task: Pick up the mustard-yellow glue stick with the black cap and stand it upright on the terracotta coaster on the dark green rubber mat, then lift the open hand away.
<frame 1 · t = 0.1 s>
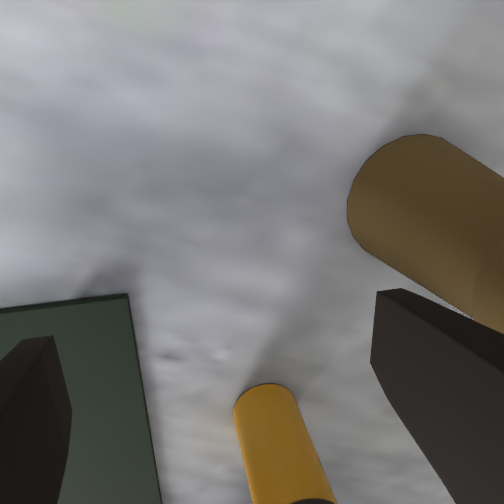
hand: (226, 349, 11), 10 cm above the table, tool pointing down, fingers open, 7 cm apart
cork: (406, 199, 22), on the table
glue stick: (264, 408, 25), on the table
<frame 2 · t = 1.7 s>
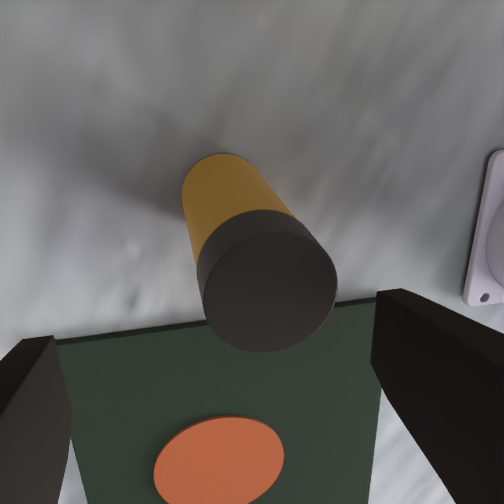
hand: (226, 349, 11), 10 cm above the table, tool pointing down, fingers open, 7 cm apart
mat: (236, 442, 25), on the table
glue stick: (222, 194, 19), on the table
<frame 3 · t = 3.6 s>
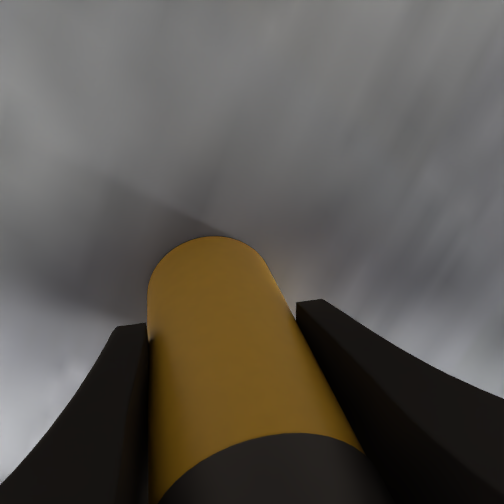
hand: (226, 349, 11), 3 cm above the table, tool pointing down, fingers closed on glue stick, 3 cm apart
glue stick: (211, 292, 13), on the table, touching gripper
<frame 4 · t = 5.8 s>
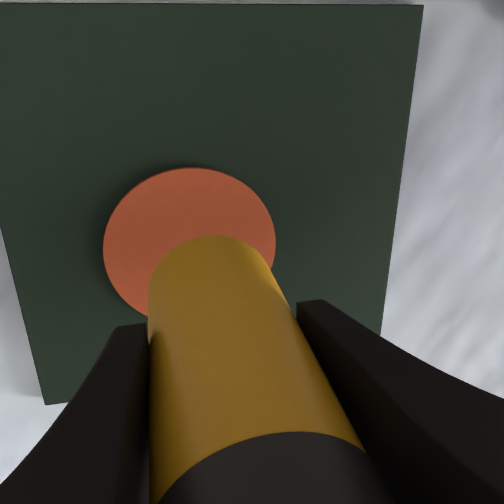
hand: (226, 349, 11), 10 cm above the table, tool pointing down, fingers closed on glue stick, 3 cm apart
mat: (214, 222, 19), on the table
glue stick: (211, 291, 13), point 7 cm above the table, touching gripper
when the fingers open (3 cm above the table, at t = 8.1 s): glue stick stays where it is, resting on mat.
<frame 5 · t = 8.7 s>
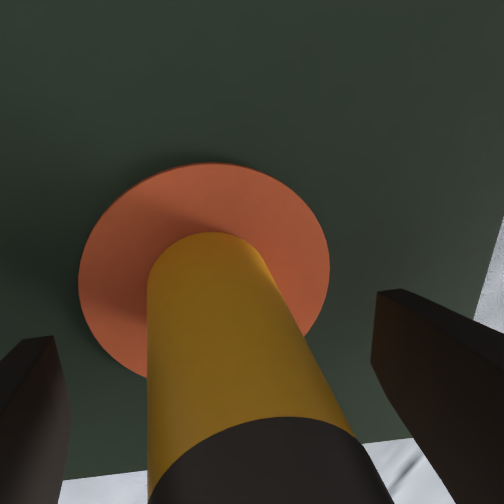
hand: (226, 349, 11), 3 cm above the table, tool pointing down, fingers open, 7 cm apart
mat: (243, 245, 13), on the table
glue stick: (209, 287, 13), point 1 cm above the table, touching mat
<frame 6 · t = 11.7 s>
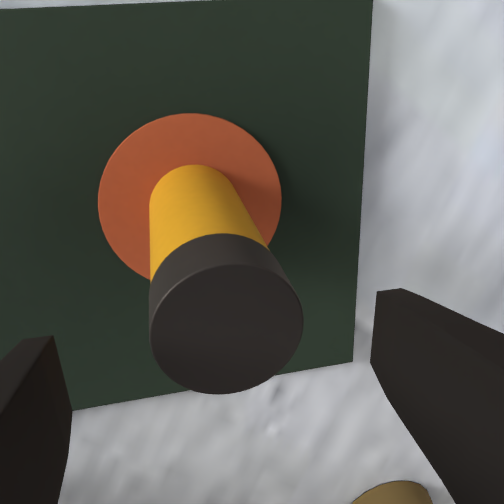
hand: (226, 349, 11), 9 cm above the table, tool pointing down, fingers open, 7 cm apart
mat: (169, 229, 19), on the table
glue stick: (194, 207, 18), point 1 cm above the table, touching mat
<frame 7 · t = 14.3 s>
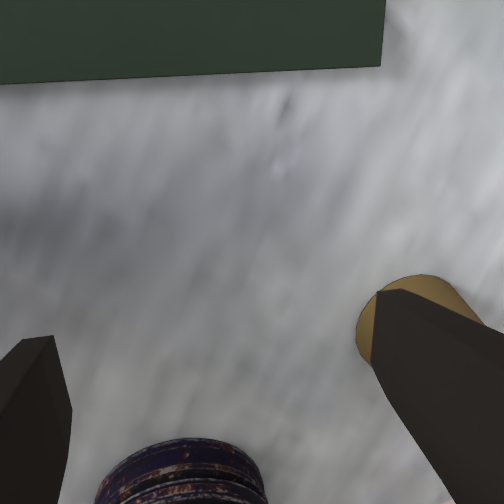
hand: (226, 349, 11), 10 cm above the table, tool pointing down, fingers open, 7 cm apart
cork: (406, 322, 25), on the table
storage jar: (181, 498, 27), on the table
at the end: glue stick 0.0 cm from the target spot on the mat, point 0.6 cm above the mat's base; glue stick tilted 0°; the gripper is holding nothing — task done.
